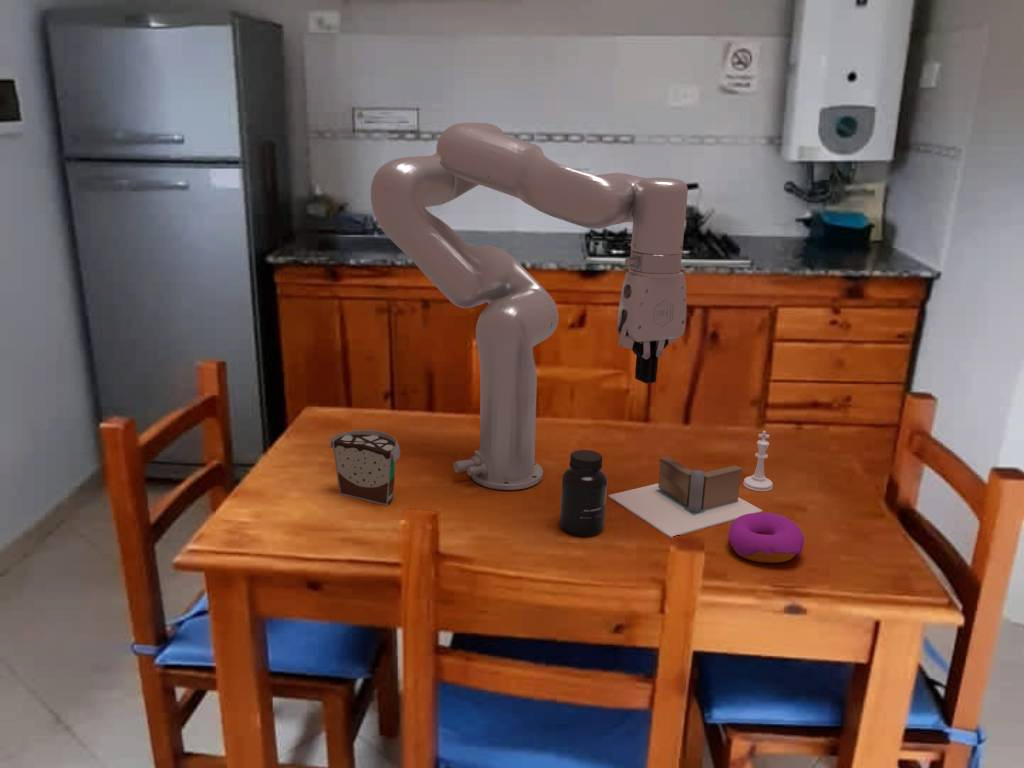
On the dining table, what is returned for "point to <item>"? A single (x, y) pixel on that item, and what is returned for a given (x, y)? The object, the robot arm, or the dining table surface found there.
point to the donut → (766, 537)
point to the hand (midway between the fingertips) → (645, 380)
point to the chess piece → (759, 468)
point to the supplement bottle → (583, 494)
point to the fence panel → (675, 479)
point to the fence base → (675, 512)
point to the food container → (366, 464)
